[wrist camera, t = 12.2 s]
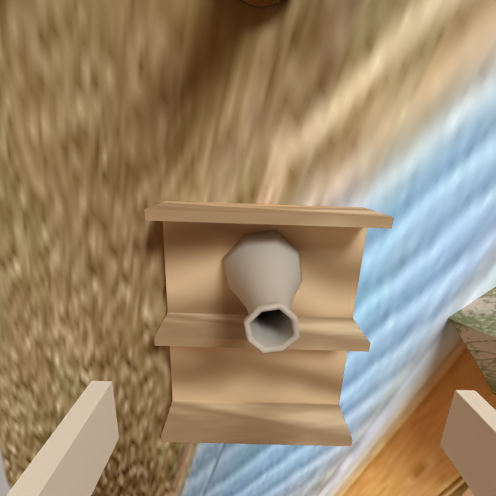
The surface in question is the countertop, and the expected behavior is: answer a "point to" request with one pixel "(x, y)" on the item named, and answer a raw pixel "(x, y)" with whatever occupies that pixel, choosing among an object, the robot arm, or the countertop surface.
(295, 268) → the flask
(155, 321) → the countertop surface
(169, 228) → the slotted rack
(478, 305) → the grocery bag
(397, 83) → the countertop surface
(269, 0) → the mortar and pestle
